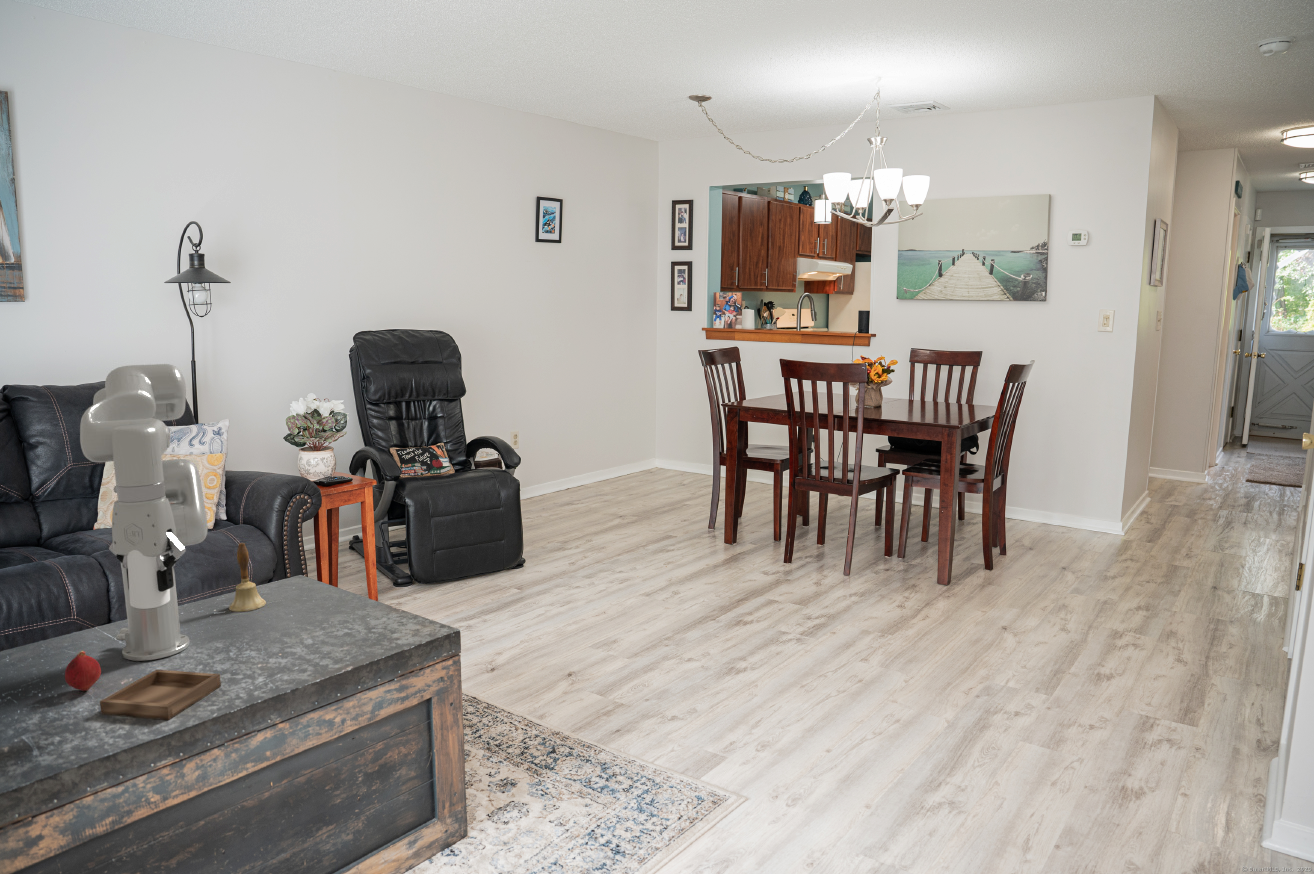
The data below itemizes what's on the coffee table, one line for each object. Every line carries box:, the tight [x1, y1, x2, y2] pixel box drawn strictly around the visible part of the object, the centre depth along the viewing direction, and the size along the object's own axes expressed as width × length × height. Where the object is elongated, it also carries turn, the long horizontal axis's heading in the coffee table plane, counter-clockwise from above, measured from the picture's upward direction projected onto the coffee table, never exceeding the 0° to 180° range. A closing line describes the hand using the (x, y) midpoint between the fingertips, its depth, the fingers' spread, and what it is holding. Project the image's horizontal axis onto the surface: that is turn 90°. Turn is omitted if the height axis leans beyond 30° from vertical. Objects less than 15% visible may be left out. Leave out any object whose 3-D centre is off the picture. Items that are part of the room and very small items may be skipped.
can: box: [127, 550, 170, 610], centre depth 162 cm, size 6×6×12 cm
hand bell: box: [228, 542, 267, 613], centre depth 215 cm, size 8×8×16 cm
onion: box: [64, 650, 102, 692], centre depth 169 cm, size 6×6×8 cm
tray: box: [99, 669, 222, 721], centre depth 165 cm, size 14×14×2 cm
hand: (151, 587), depth 162 cm, fingers closed on can, 5 cm apart
